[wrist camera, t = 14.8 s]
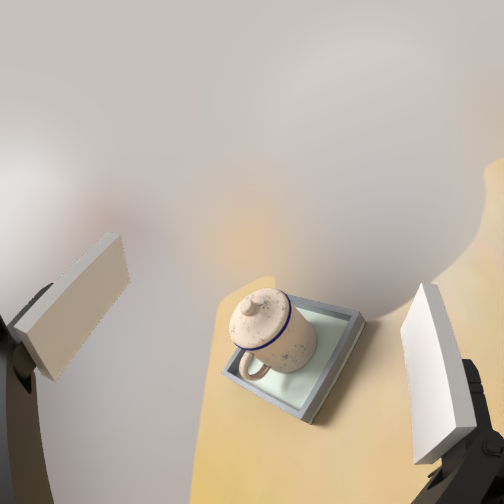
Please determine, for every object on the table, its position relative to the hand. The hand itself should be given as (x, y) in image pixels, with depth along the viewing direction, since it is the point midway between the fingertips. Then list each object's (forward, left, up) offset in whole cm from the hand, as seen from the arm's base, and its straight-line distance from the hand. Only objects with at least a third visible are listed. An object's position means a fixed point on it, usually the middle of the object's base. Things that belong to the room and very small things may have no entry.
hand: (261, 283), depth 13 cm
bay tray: (-4, -19, -29) cm, 35 cm away
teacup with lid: (-3, -19, -28) cm, 35 cm away
